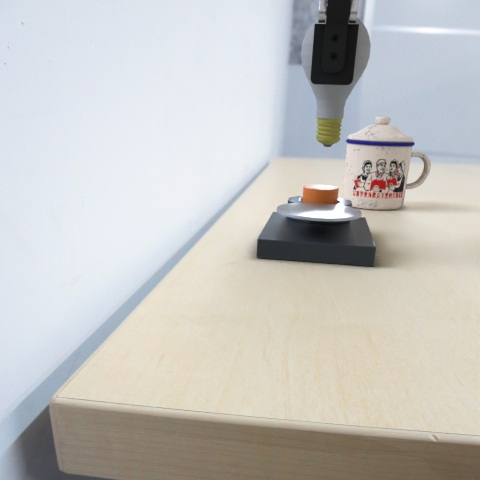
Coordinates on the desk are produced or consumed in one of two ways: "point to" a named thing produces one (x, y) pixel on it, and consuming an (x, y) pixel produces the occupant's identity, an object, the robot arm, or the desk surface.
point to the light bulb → (334, 86)
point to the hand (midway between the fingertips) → (330, 84)
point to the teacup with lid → (380, 166)
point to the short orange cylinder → (320, 194)
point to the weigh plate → (319, 211)
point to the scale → (317, 239)
